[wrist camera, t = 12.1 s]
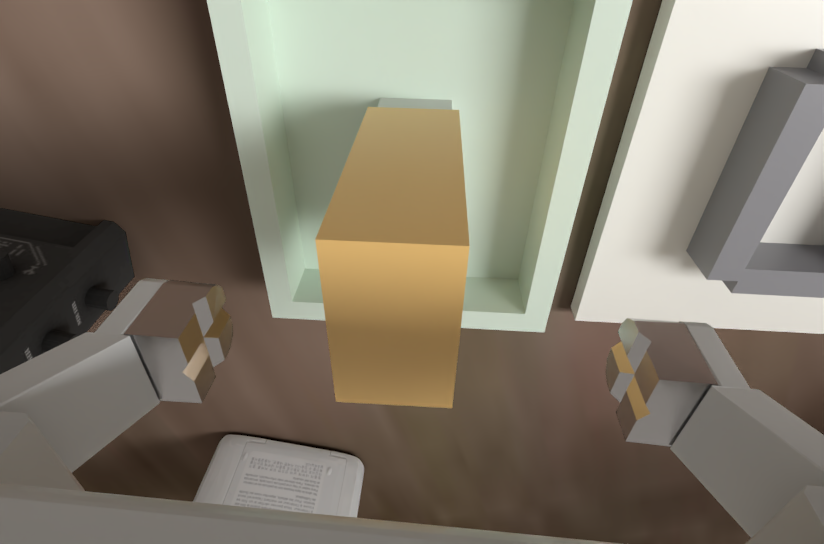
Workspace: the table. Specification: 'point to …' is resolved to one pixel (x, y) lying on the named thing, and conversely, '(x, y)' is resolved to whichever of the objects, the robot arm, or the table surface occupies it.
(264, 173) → the parts tray
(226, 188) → the table surface
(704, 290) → the panel
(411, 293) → the block
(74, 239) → the geiger counter
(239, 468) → the photo printer
